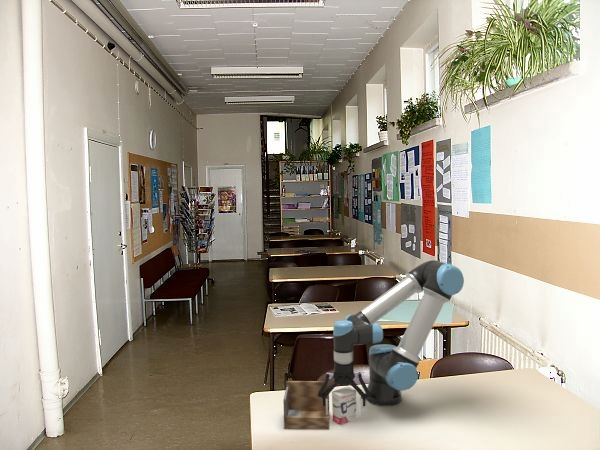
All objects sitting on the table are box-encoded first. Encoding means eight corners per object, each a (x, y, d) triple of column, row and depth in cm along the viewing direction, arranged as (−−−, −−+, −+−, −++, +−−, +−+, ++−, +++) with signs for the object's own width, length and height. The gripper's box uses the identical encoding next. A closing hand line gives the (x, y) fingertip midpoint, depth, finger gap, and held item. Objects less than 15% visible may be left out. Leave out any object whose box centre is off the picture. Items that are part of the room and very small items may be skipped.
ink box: (339, 425, 194) (339, 395, 193) (332, 420, 198) (331, 391, 197) (357, 419, 199) (356, 390, 198) (349, 414, 203) (348, 386, 202)
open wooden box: (329, 413, 204) (328, 381, 203) (329, 429, 191) (328, 394, 190) (287, 413, 205) (286, 381, 204) (284, 428, 192) (283, 394, 191)
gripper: (375, 357, 200) (375, 410, 201) (311, 357, 201) (312, 409, 203) (376, 364, 192) (377, 418, 194) (311, 364, 194) (312, 417, 195)
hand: (344, 414), depth 198 cm, fingers open, 13 cm apart
